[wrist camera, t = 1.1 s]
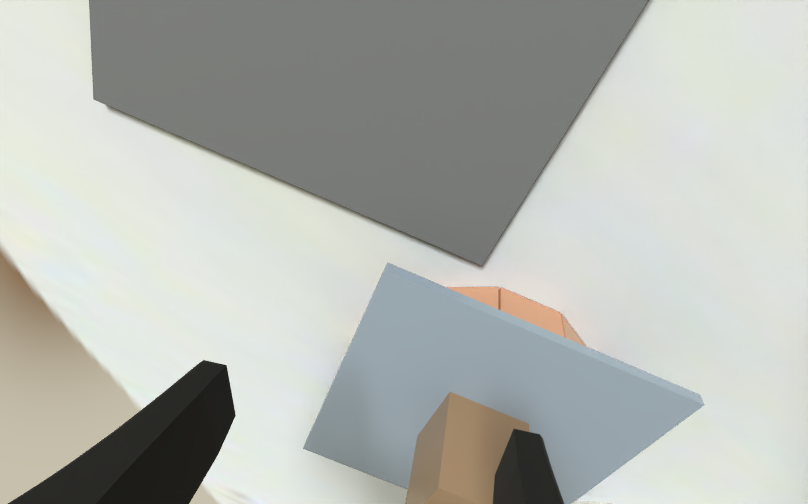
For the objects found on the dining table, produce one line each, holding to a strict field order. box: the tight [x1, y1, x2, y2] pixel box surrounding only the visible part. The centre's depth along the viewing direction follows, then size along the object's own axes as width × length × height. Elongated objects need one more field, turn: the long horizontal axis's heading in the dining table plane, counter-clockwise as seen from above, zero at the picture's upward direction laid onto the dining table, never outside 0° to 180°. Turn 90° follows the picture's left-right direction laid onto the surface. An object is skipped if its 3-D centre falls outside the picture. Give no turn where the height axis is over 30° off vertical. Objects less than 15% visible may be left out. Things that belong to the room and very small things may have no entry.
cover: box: [303, 263, 704, 504], centre depth 20 cm, size 14×14×5 cm
